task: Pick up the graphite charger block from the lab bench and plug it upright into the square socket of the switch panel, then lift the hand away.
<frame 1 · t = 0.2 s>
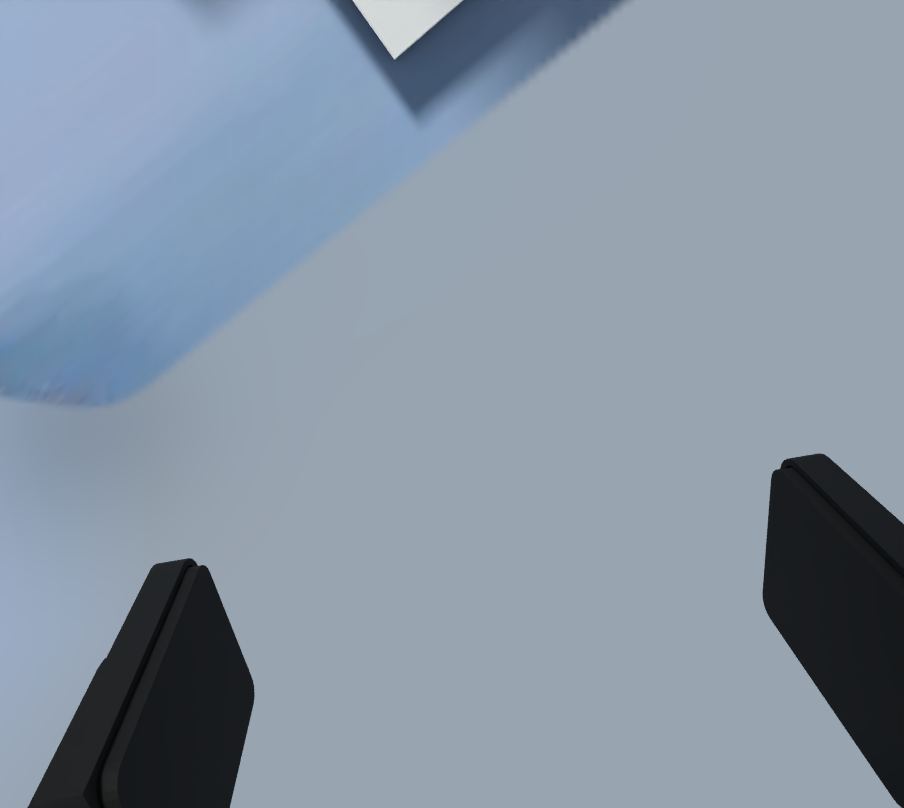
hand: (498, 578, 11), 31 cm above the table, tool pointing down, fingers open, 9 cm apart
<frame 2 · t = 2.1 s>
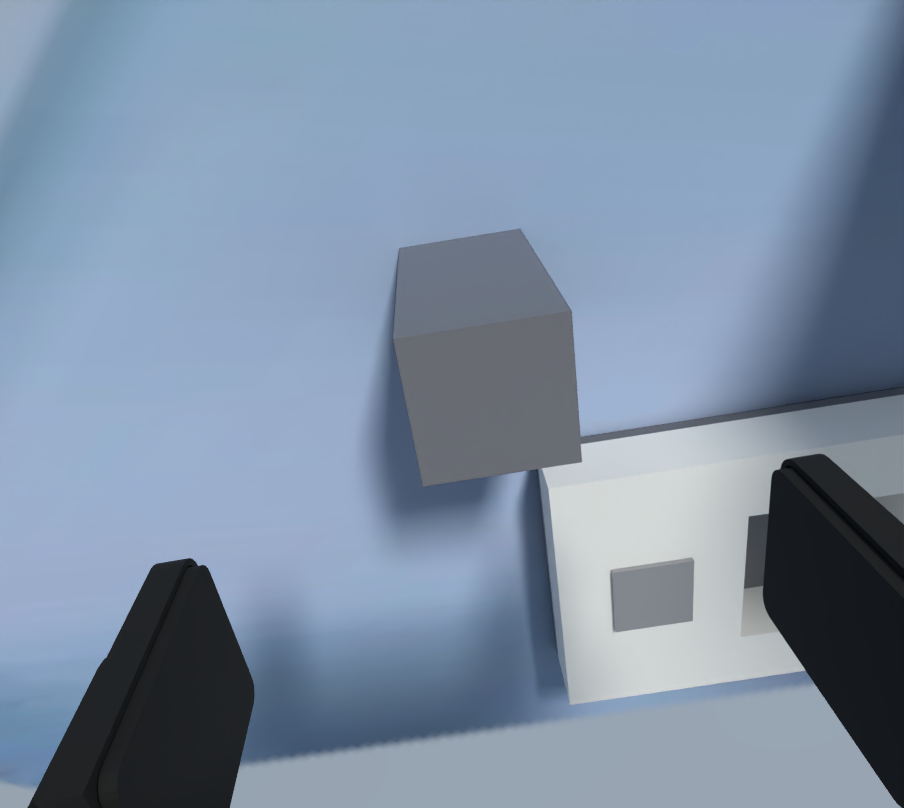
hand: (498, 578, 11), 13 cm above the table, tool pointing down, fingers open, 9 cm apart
switch panel: (784, 519, 28), on the table
charger block: (467, 296, 23), on the table
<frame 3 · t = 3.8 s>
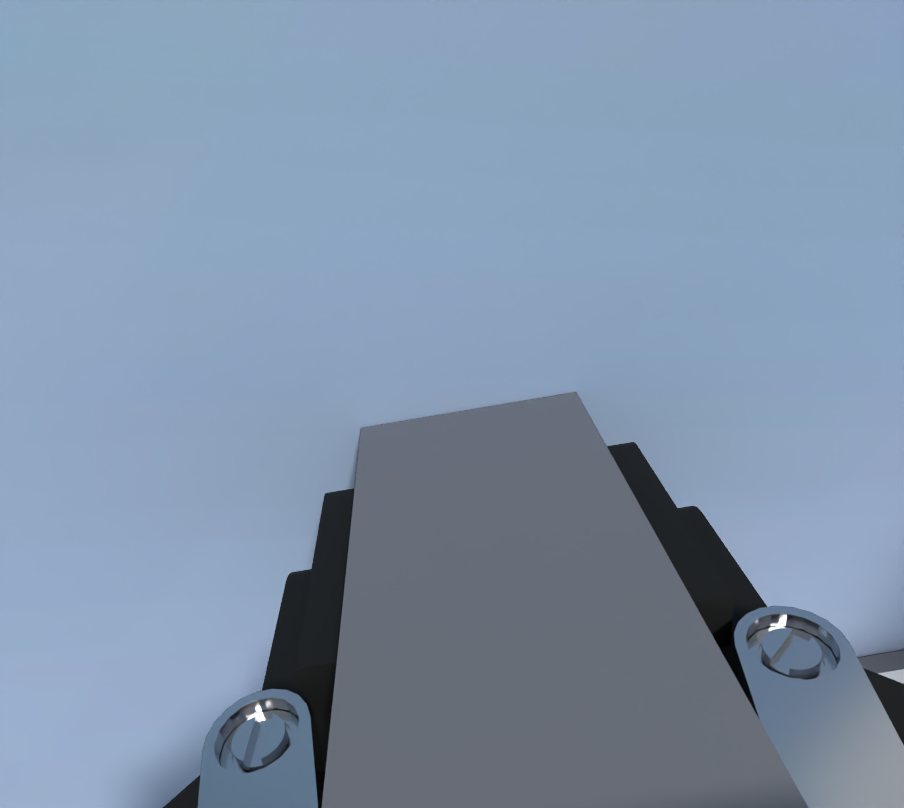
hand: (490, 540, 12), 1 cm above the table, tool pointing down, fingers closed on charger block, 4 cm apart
charger block: (482, 499, 13), on the table, touching gripper
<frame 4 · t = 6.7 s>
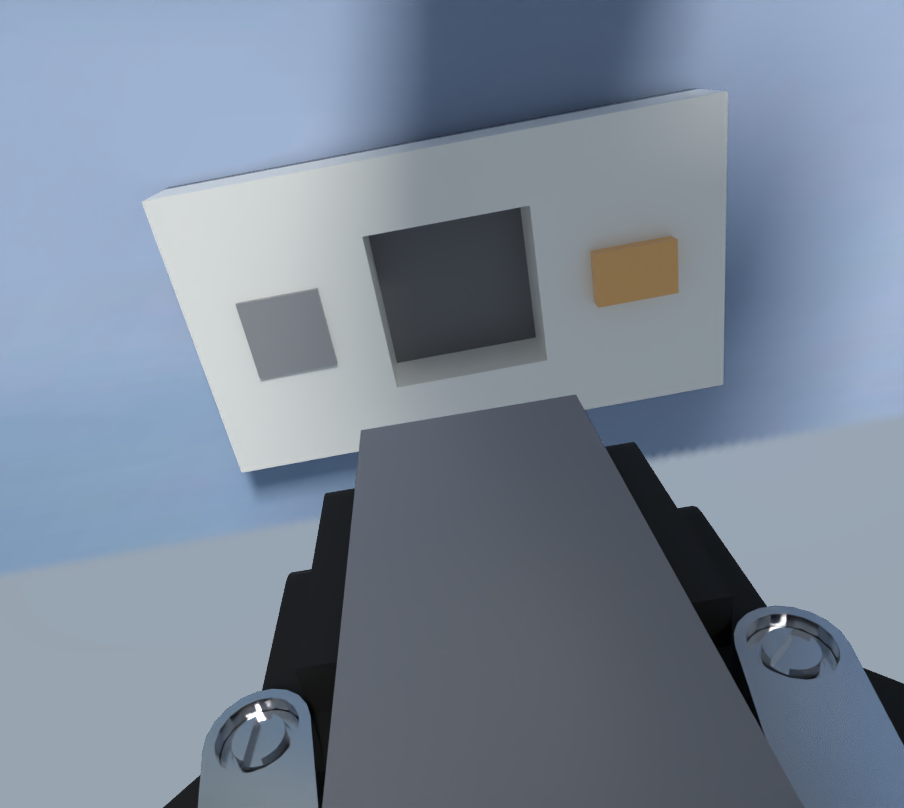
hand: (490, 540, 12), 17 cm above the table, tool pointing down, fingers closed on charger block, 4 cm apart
switch panel: (453, 279, 28), on the table
charger block: (482, 501, 13), point 16 cm above the table, touching gripper
when the fingers open (4 cm above the table, at t = 9.7 s): charger block drops 2 cm, resting on switch panel.
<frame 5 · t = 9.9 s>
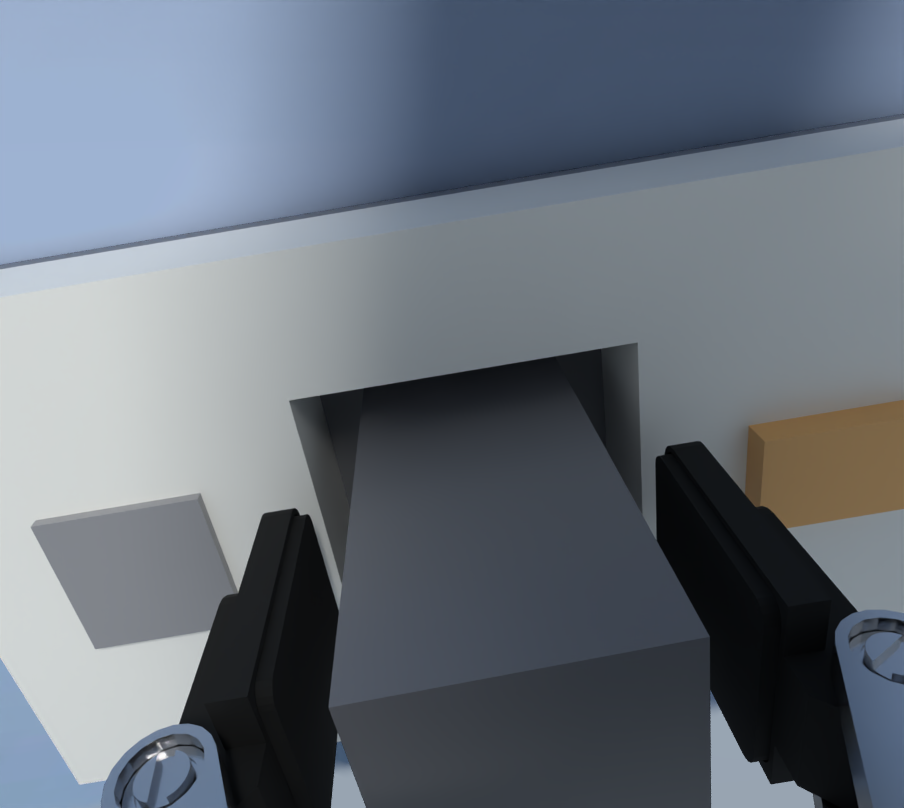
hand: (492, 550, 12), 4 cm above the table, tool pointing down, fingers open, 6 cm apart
switch panel: (470, 438, 15), on the table
charger block: (472, 449, 15), resting on switch panel
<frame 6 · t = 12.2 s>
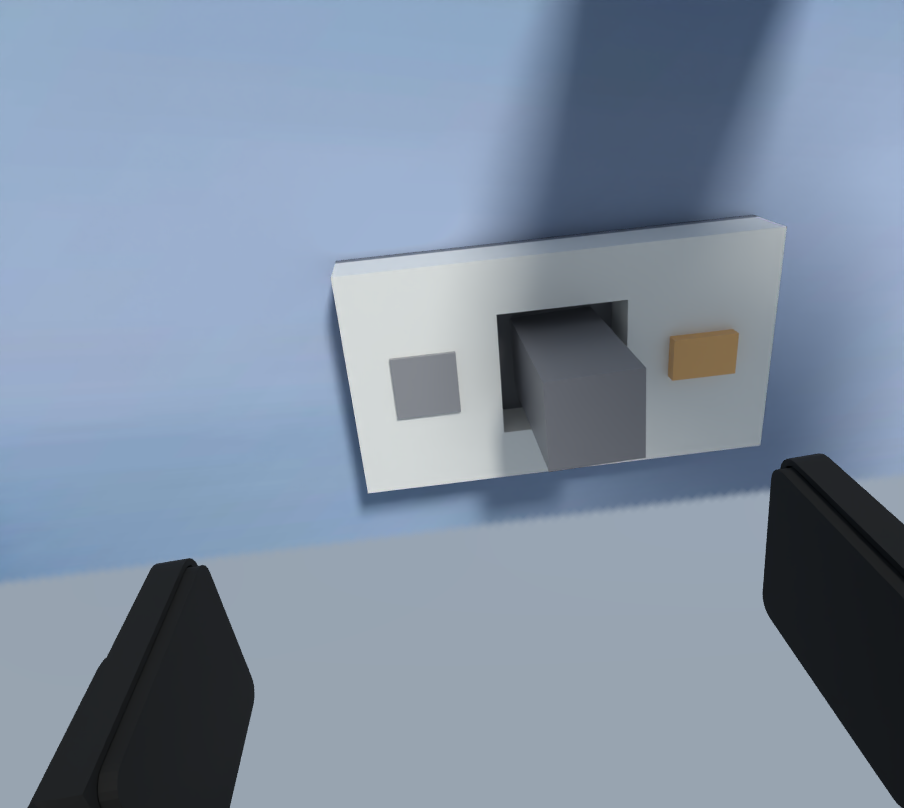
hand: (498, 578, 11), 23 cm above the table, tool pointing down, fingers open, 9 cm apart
switch panel: (550, 346, 34), on the table
charger block: (552, 350, 34), resting on switch panel
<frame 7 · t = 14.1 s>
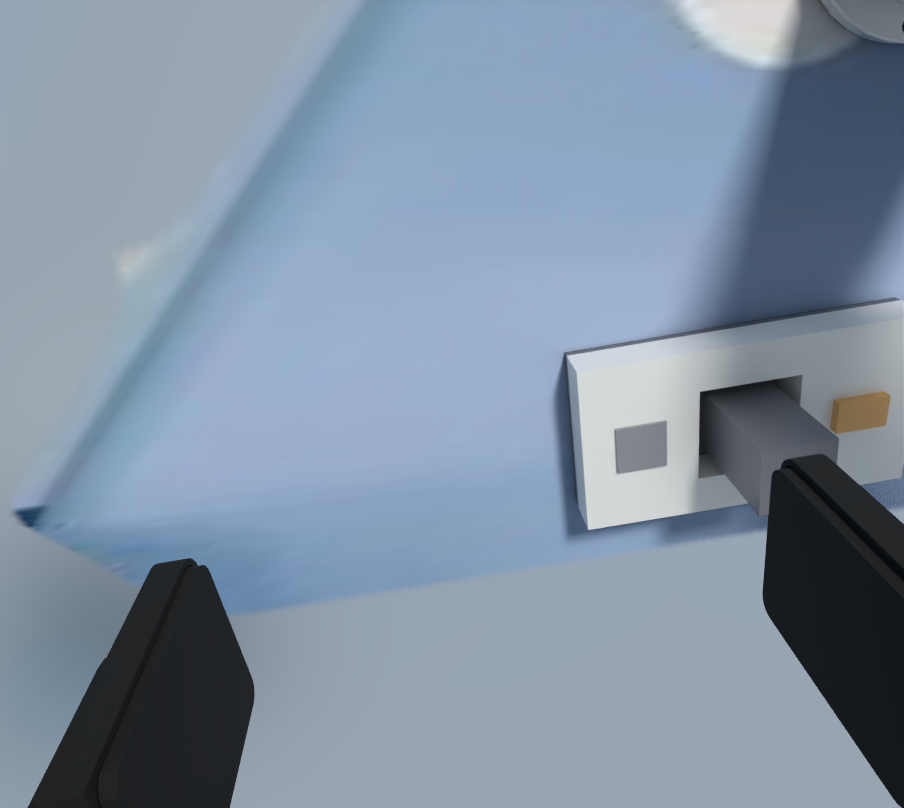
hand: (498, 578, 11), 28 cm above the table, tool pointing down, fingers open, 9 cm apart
switch panel: (726, 406, 43), on the table
charger block: (730, 409, 42), resting on switch panel
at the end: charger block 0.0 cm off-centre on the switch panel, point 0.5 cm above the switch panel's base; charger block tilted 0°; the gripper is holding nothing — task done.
